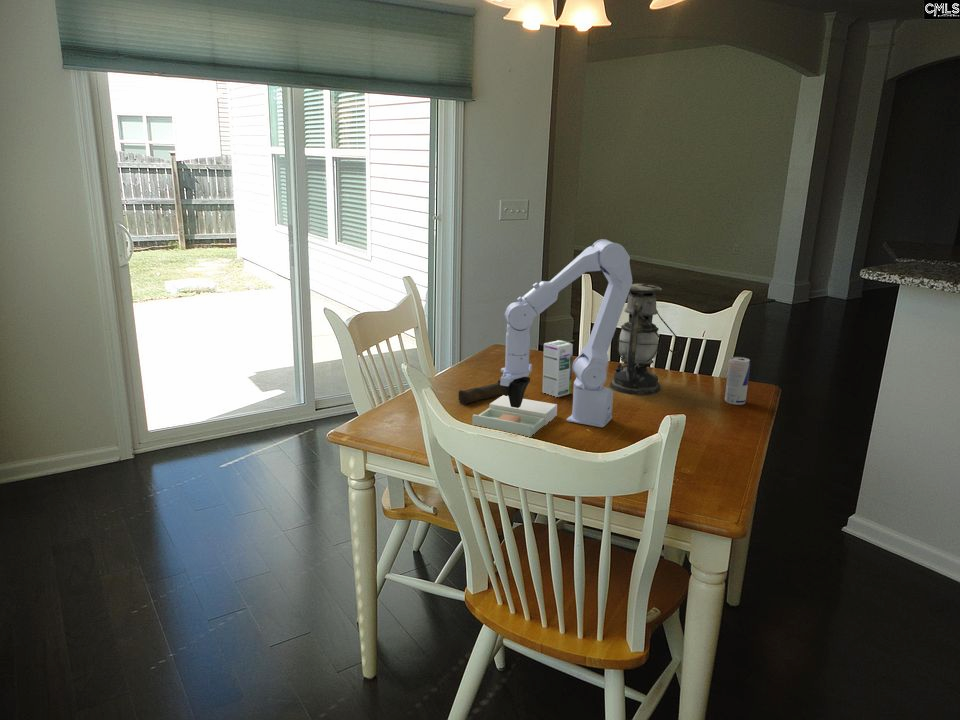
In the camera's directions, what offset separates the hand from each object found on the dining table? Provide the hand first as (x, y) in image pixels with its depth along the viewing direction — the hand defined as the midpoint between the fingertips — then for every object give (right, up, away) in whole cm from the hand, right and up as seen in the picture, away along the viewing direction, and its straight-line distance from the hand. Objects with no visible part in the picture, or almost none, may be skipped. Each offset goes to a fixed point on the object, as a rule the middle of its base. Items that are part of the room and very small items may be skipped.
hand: (515, 406), depth 171 cm
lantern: (+38, +3, +29) cm, 48 cm away
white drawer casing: (+2, -3, +5) cm, 6 cm away
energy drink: (+60, 0, +18) cm, 63 cm away
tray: (-2, -5, -2) cm, 6 cm away
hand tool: (-6, +1, +19) cm, 20 cm away
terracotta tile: (-2, -2, -4) cm, 5 cm away
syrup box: (+12, +2, +23) cm, 26 cm away
